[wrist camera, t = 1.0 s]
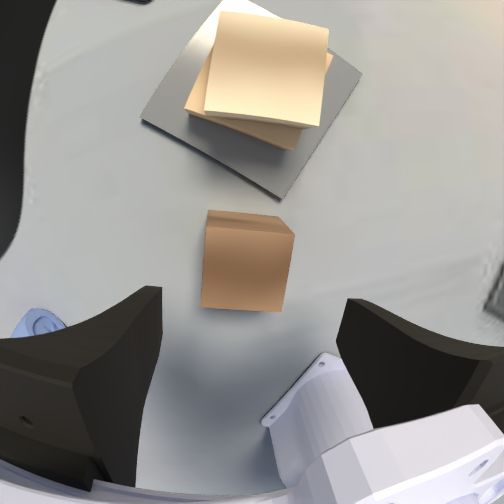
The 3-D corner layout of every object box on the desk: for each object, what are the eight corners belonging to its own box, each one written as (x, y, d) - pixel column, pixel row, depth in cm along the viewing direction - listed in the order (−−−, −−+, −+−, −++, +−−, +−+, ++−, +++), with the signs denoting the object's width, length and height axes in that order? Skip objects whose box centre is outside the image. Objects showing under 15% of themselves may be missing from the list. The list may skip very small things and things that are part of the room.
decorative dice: (25, 329, 20) (3, 355, 16) (38, 299, 19) (14, 325, 16) (60, 358, 21) (42, 387, 17) (76, 331, 21) (57, 361, 17)
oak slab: (284, 150, 17) (293, 150, 15) (188, 114, 16) (184, 108, 14) (319, 66, 16) (333, 55, 14) (228, 29, 15) (230, 12, 12)
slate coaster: (280, 197, 19) (282, 199, 18) (141, 118, 16) (139, 117, 16) (358, 75, 17) (362, 73, 16) (229, -4, 14) (230, -8, 14)
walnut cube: (268, 280, 21) (281, 312, 17) (203, 275, 20) (200, 307, 16) (278, 216, 19) (294, 234, 15) (208, 209, 19) (206, 226, 15)
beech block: (304, 129, 15) (318, 126, 12) (206, 116, 14) (203, 110, 12) (313, 44, 13) (328, 29, 11) (219, 29, 13) (220, 10, 10)
